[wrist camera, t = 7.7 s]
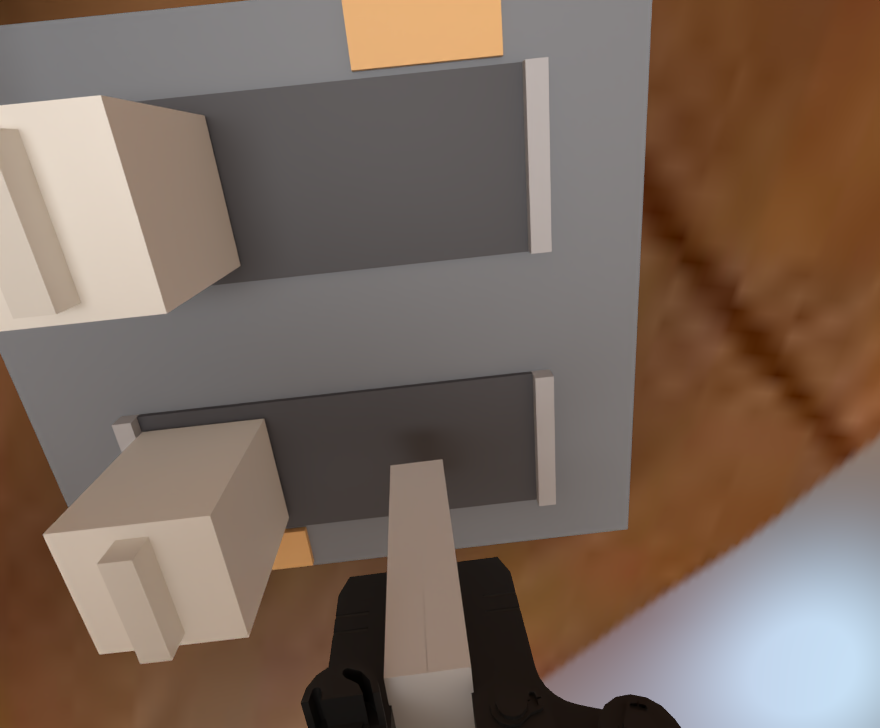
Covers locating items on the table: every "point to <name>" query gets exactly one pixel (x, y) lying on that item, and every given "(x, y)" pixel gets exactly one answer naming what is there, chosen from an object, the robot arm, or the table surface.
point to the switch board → (377, 256)
